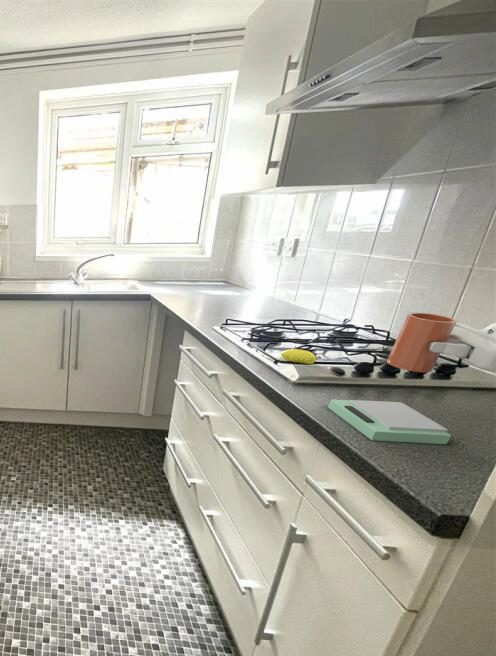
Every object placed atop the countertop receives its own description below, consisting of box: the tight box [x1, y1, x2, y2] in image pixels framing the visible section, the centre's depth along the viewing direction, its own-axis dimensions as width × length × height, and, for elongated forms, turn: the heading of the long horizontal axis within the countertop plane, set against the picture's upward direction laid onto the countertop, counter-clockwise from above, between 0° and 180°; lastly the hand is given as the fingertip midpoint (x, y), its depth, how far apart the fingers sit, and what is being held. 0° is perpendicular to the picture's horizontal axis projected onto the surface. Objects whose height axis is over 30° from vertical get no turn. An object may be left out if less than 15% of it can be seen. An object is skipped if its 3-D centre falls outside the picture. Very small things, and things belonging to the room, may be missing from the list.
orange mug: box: [386, 312, 458, 373], centre depth 81 cm, size 7×7×10 cm
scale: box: [327, 399, 452, 445], centre depth 83 cm, size 13×13×3 cm
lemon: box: [280, 348, 317, 365], centre depth 114 cm, size 4×8×4 cm, turn 58°
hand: (416, 339), depth 81 cm, fingers closed on orange mug, 7 cm apart
